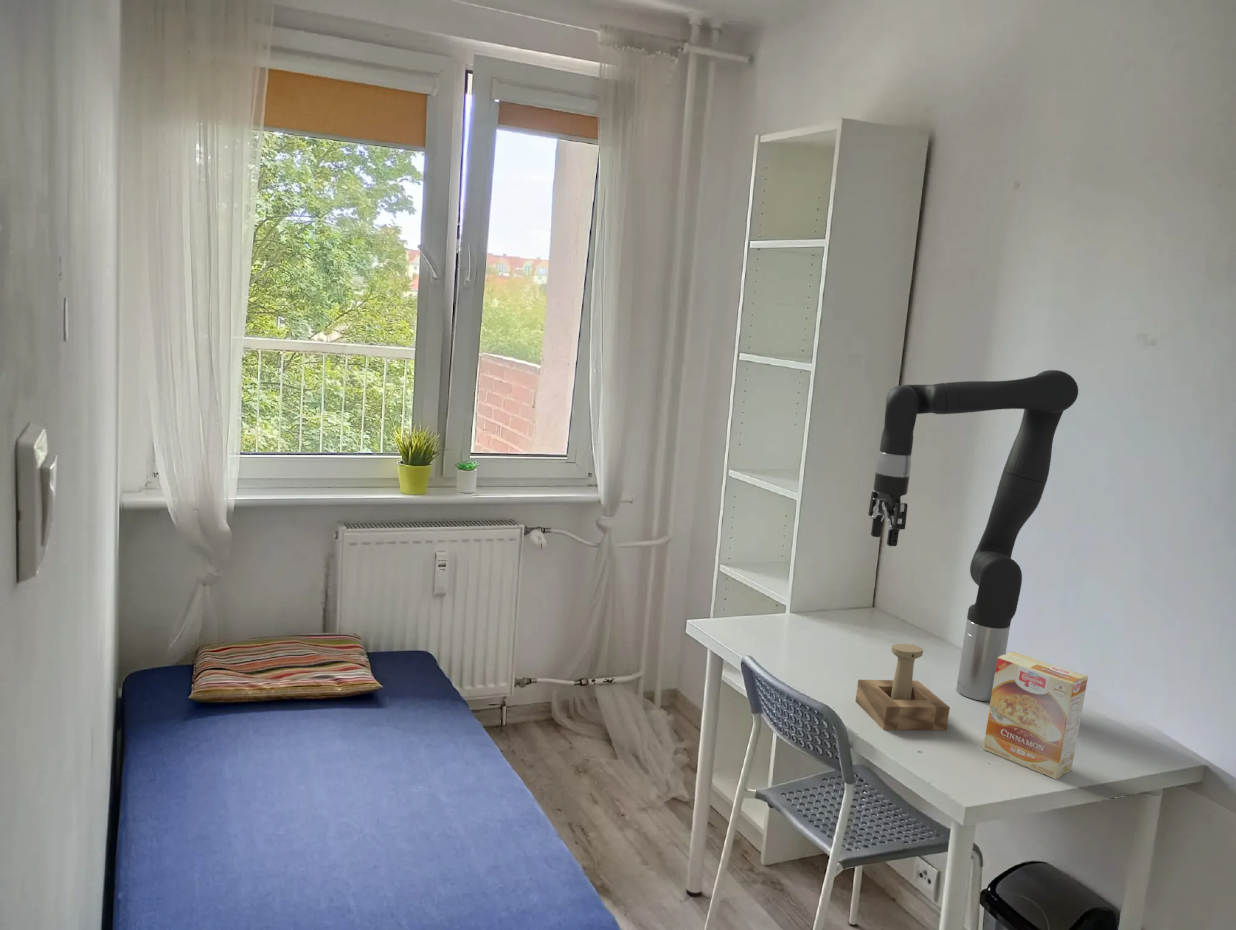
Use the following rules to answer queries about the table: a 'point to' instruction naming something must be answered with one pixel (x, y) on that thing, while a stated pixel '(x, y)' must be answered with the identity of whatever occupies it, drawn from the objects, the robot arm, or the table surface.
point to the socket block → (902, 706)
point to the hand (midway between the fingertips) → (883, 541)
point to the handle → (904, 670)
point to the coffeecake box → (1035, 714)
